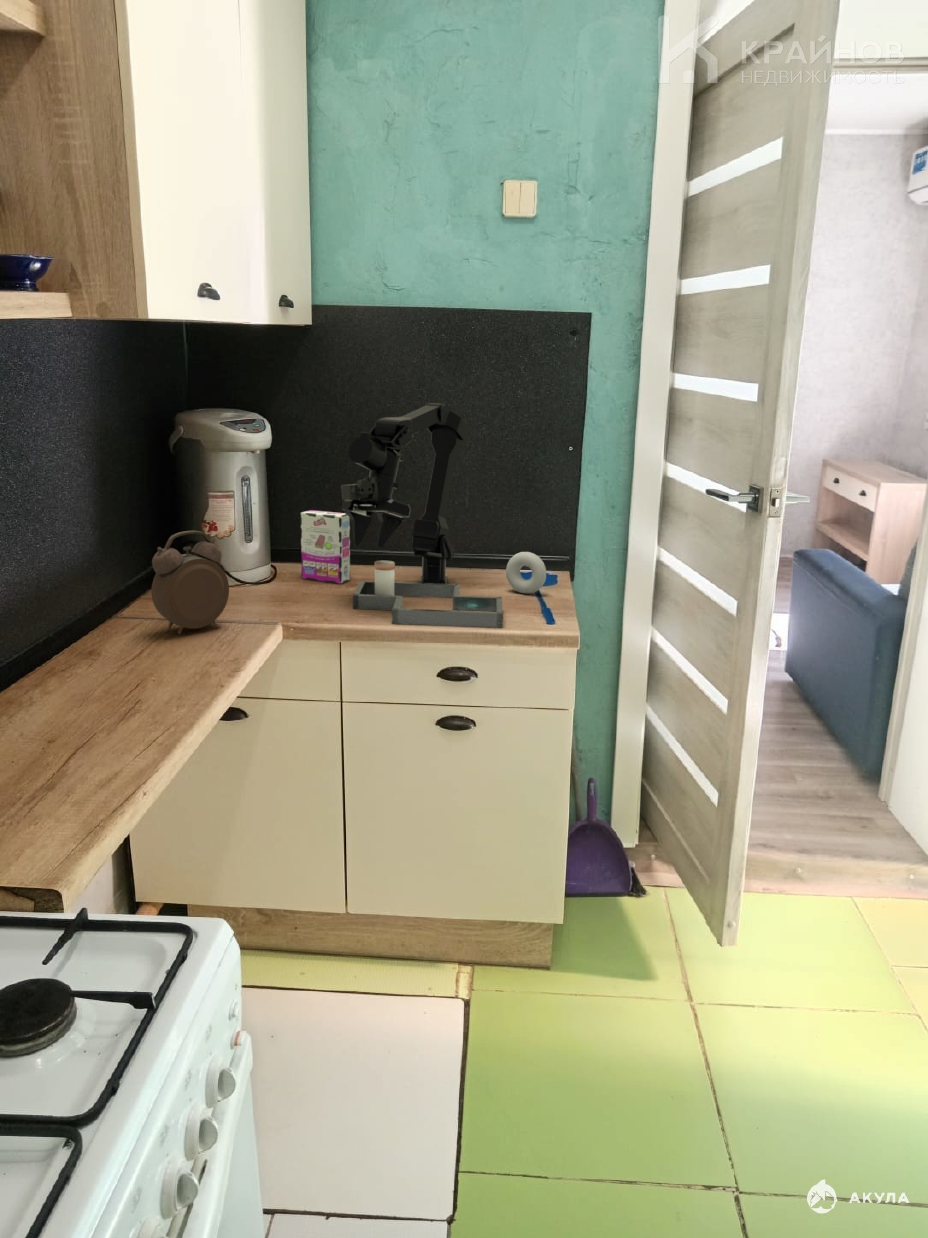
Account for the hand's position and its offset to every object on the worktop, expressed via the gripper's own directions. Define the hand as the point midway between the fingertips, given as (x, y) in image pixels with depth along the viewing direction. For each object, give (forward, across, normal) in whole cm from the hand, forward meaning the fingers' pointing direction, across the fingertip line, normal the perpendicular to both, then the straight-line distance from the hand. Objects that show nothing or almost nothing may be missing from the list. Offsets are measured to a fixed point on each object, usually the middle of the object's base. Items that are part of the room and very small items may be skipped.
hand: (367, 546), depth 212 cm
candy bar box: (+8, -28, +8) cm, 30 cm away
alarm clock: (+25, -6, -32) cm, 41 cm away
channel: (+10, +6, +15) cm, 19 cm away
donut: (+2, +7, +41) cm, 42 cm away
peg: (+11, -4, +10) cm, 15 cm away
